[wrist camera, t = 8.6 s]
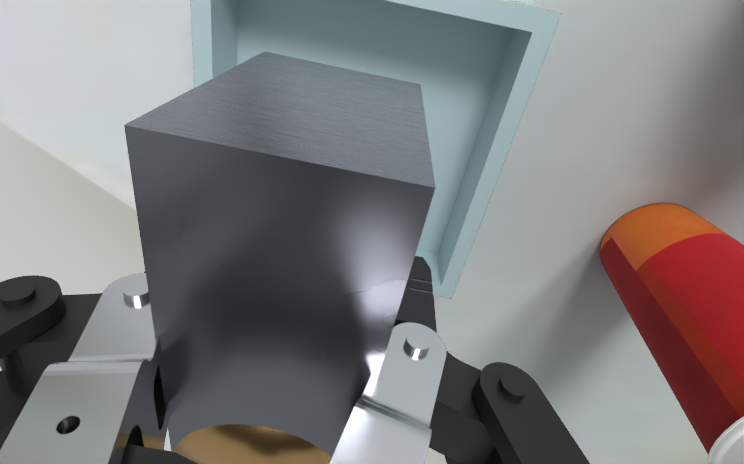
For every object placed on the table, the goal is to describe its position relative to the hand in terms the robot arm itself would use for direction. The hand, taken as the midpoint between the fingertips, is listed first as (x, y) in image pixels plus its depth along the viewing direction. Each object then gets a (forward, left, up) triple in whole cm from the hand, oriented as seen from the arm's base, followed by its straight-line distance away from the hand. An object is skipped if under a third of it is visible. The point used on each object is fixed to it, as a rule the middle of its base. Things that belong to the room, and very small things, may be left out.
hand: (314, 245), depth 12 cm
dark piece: (-1, 0, -1) cm, 1 cm away
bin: (0, 0, -12) cm, 12 cm away
